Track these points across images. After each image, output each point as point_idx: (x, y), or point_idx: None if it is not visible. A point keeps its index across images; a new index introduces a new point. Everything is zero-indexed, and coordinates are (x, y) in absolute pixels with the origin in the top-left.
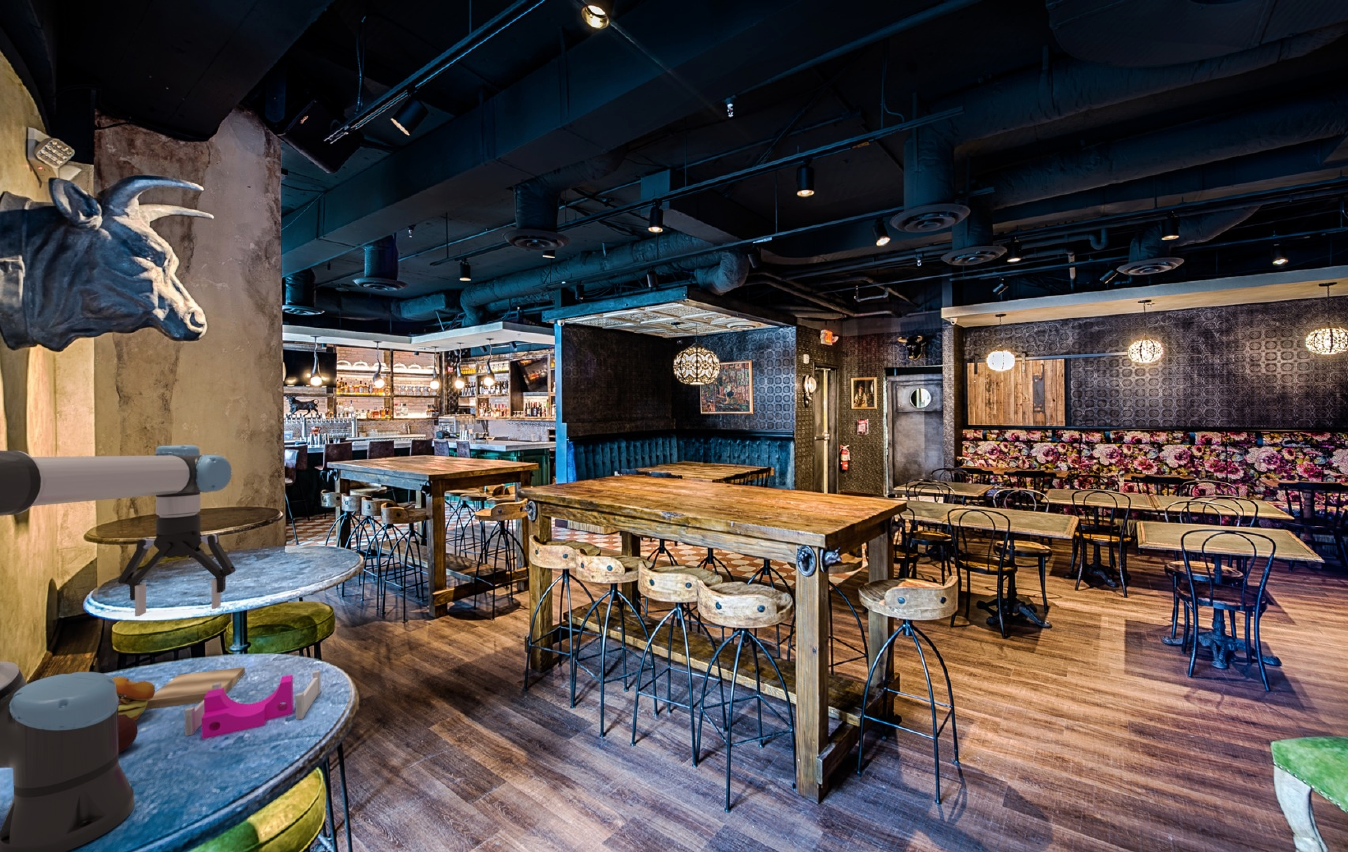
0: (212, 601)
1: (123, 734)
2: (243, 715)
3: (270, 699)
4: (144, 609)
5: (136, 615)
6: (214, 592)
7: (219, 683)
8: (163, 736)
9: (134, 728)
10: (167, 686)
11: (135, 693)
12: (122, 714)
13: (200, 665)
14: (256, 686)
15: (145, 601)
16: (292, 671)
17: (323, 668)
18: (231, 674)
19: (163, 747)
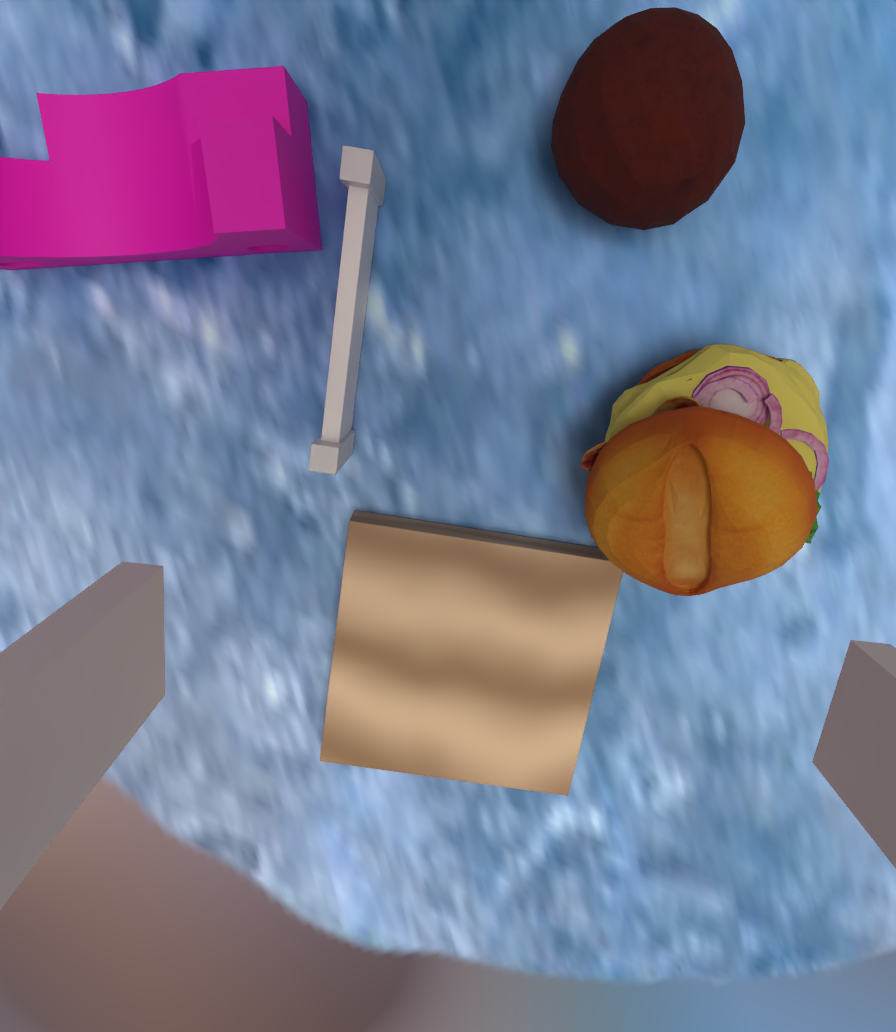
0: (109, 601)
1: (588, 47)
2: (132, 106)
3: (28, 183)
4: (843, 761)
5: (882, 648)
6: (10, 663)
7: (313, 459)
8: (472, 221)
9: (561, 113)
10: (577, 685)
11: (645, 427)
12: (663, 375)
13: (527, 916)
14: (242, 589)
15: (891, 846)
16: None
17: None
18: (352, 700)
19: (440, 95)
